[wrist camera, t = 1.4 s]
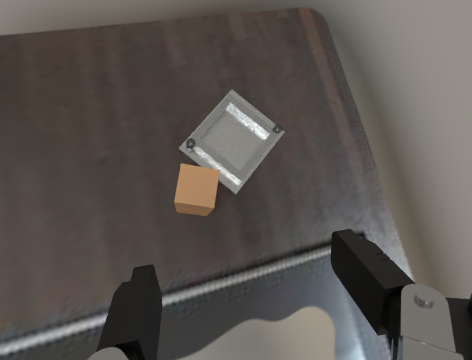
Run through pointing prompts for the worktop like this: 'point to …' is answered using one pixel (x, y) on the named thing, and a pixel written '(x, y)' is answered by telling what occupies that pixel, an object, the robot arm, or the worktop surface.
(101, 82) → the worktop surface
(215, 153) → the plate
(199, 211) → the tan block
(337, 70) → the worktop surface
